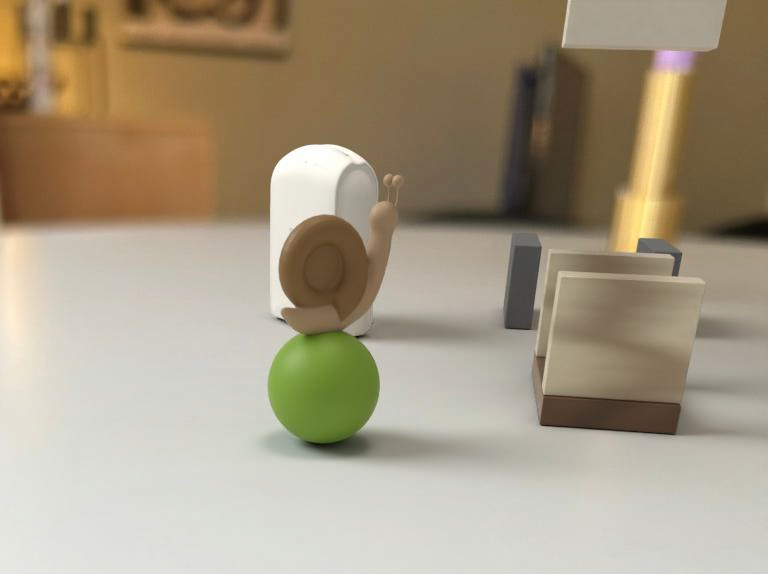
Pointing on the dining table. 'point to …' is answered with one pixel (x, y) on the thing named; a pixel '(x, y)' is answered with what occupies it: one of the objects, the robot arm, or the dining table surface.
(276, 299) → the white rounded block
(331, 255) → the snail figurine
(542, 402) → the wooden card holder
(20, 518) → the dining table surface
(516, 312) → the grey bookends
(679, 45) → the white book
